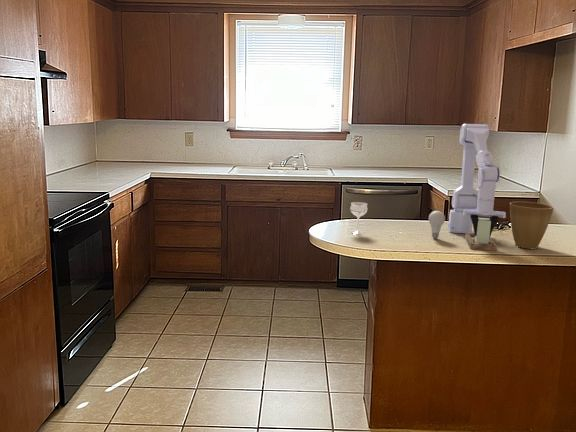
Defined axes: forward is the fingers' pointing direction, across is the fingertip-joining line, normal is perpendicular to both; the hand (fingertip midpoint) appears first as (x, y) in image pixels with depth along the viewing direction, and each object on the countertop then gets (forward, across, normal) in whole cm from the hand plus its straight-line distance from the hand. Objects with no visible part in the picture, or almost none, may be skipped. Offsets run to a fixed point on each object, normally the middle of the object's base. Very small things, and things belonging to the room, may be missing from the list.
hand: (482, 235), depth 204 cm
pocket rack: (+4, 0, +4) cm, 6 cm away
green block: (+3, 0, 0) cm, 3 cm away
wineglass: (+4, -46, +8) cm, 47 cm away
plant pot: (+4, +17, +6) cm, 18 cm away
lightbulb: (+4, -16, +8) cm, 18 cm away
